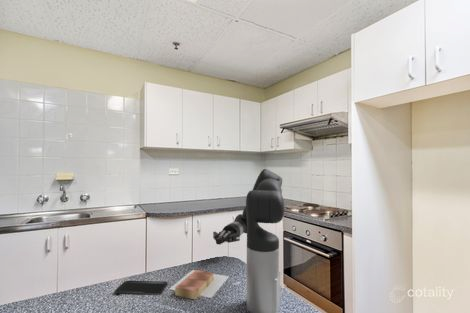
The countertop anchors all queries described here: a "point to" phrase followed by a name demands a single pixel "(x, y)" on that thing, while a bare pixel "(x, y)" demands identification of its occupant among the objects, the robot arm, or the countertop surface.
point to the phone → (141, 287)
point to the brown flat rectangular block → (194, 284)
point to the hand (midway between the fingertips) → (218, 241)
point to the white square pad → (211, 288)
